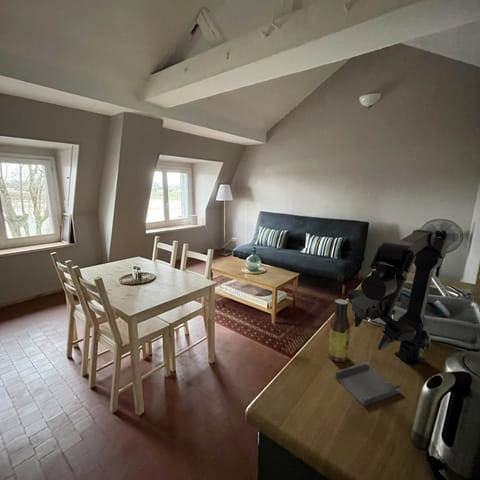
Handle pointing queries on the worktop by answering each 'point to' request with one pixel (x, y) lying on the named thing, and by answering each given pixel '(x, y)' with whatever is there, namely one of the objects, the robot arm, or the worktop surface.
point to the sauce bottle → (339, 332)
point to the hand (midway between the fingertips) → (367, 337)
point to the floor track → (365, 383)
